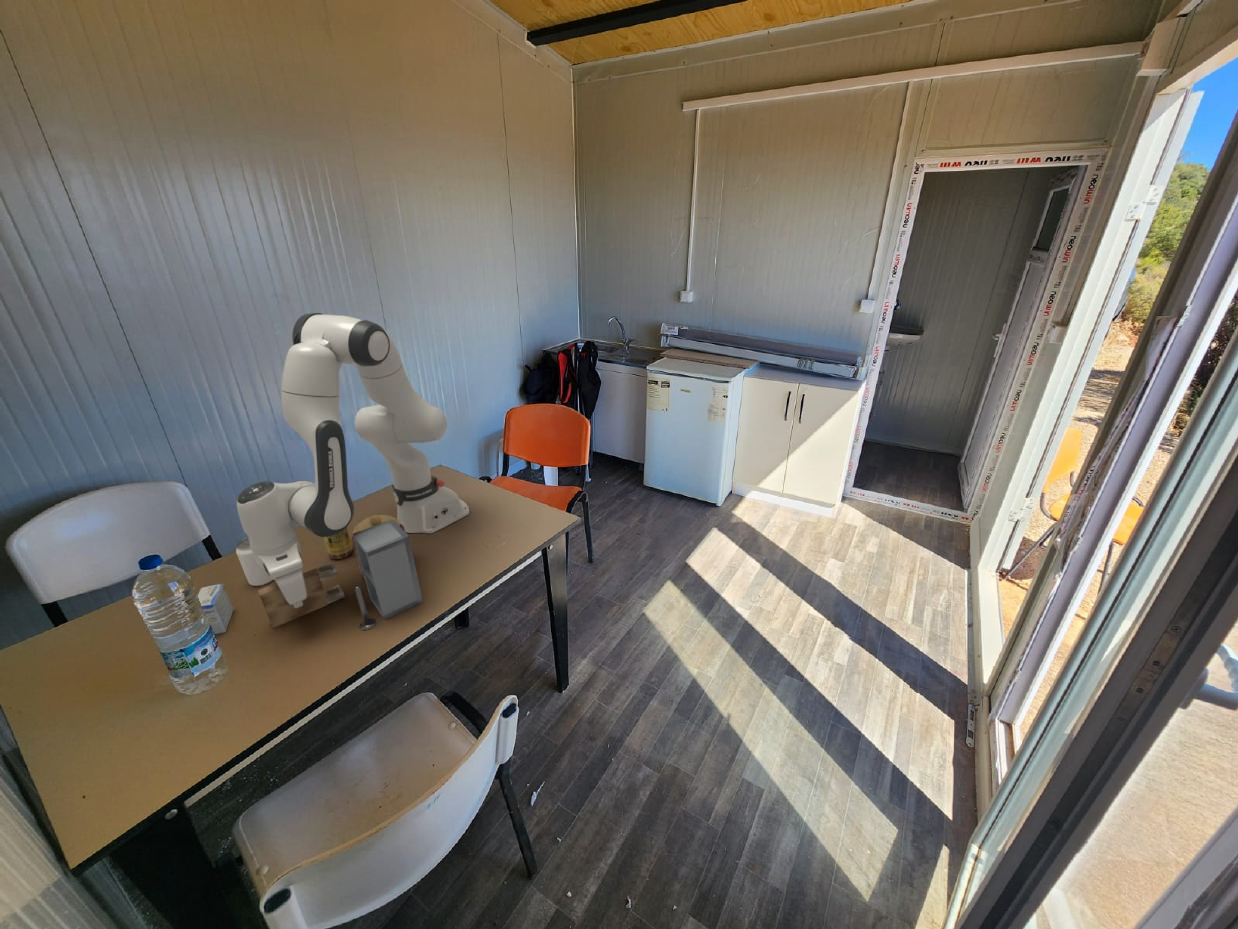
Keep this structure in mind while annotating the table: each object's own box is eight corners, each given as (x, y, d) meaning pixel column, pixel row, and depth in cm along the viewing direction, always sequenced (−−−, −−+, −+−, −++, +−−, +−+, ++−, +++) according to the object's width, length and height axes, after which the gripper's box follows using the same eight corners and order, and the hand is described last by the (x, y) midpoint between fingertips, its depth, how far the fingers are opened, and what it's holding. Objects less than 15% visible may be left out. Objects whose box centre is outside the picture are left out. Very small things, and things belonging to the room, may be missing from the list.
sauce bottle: (332, 563, 138) (314, 502, 130) (326, 553, 142) (308, 493, 134) (357, 554, 142) (341, 494, 133) (351, 544, 146) (334, 486, 138)
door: (340, 591, 128) (331, 560, 124) (345, 599, 126) (336, 567, 121) (270, 621, 118) (257, 588, 114) (273, 630, 116) (260, 597, 111)
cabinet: (407, 582, 132) (392, 519, 123) (422, 601, 125) (408, 536, 116) (370, 598, 126) (352, 533, 117) (384, 619, 119) (366, 552, 110)
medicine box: (213, 615, 120) (200, 587, 116) (235, 610, 122) (222, 582, 118) (203, 638, 113) (189, 609, 110) (226, 632, 115) (213, 603, 111)
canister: (376, 554, 142) (362, 502, 134) (419, 556, 142) (409, 504, 134) (351, 584, 131) (335, 528, 123) (399, 586, 130) (386, 530, 122)
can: (263, 588, 129) (249, 551, 123) (242, 585, 130) (227, 547, 124) (283, 573, 134) (270, 536, 129) (263, 569, 135) (249, 533, 130)
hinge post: (373, 617, 120) (362, 579, 115) (378, 625, 118) (368, 587, 112) (357, 624, 118) (346, 586, 113) (362, 632, 115) (351, 594, 110)
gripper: (252, 535, 117) (269, 581, 123) (270, 577, 104) (289, 626, 110) (282, 526, 121) (298, 571, 127) (304, 564, 108) (320, 613, 114)
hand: (294, 597), depth 118 cm, fingers open, 6 cm apart
